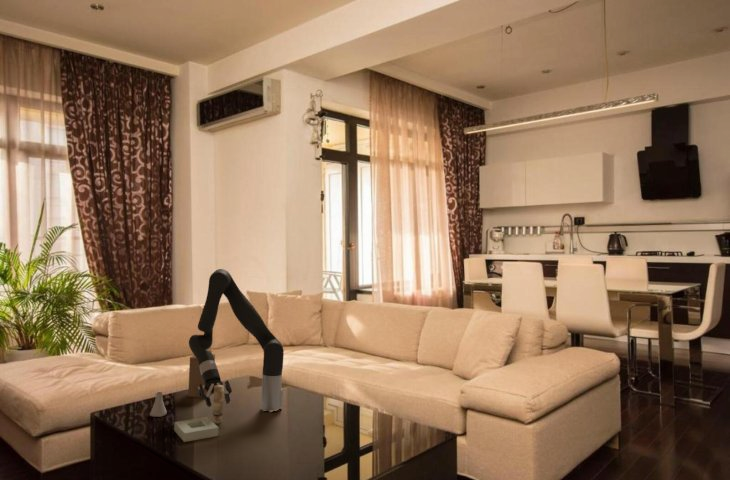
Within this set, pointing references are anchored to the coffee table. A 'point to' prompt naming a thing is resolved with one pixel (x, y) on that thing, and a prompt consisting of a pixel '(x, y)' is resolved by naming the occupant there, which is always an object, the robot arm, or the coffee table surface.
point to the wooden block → (195, 377)
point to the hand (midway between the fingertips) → (219, 404)
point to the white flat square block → (196, 429)
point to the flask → (158, 406)
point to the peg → (218, 403)
